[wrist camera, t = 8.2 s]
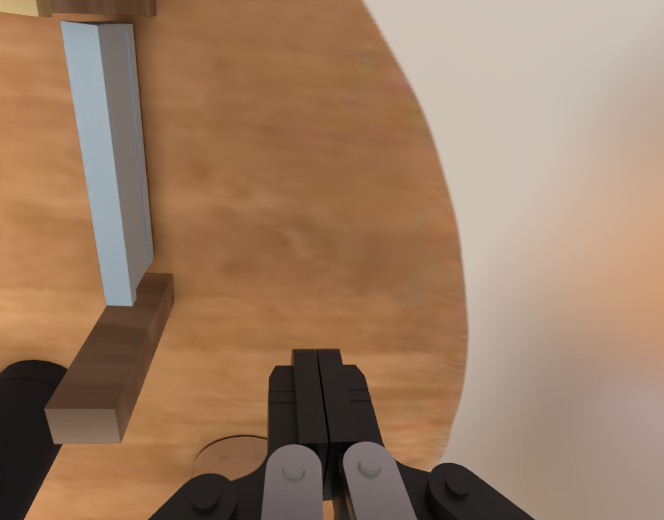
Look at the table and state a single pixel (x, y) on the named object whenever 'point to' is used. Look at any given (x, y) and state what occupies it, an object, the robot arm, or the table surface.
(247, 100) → the table surface
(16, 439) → the black water bottle
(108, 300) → the gate
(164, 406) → the table surface
